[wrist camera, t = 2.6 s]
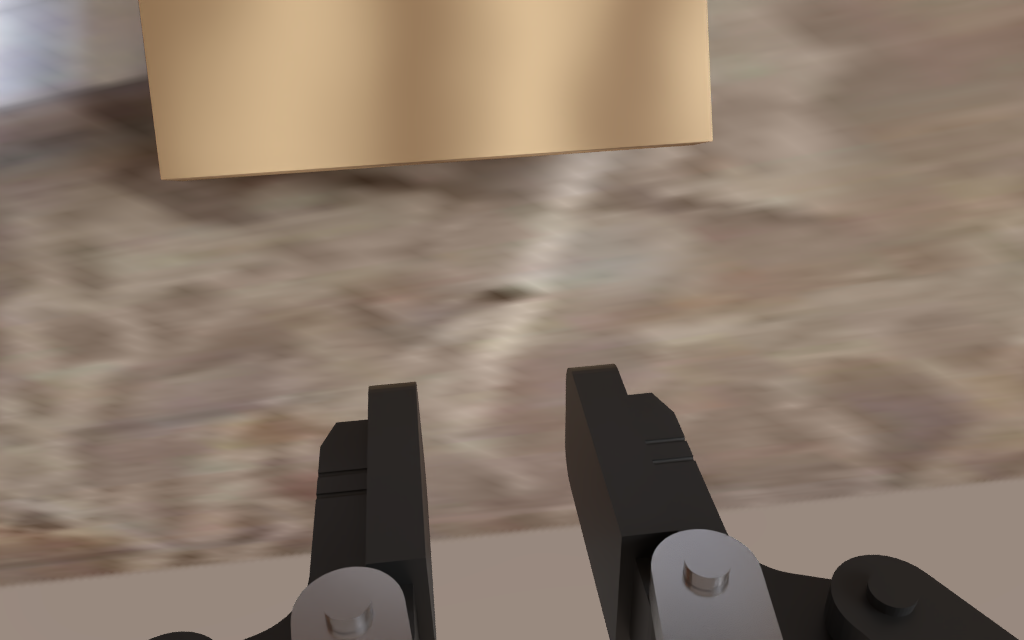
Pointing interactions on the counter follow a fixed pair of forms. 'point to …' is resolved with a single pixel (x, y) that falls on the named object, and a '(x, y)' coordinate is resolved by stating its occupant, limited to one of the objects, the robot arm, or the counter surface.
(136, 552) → the counter surface
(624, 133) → the oak plank
